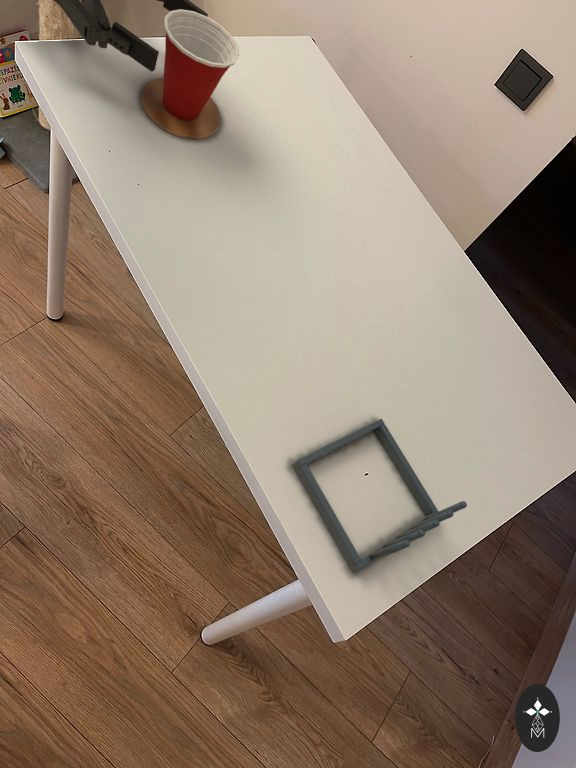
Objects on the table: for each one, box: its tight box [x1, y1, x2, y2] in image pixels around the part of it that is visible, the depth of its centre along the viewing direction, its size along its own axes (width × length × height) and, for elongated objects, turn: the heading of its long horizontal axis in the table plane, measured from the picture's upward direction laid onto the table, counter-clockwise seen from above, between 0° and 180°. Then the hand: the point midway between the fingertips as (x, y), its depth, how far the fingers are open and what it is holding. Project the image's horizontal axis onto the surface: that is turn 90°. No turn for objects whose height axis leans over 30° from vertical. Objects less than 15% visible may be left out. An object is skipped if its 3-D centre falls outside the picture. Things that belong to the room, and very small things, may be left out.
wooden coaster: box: [141, 77, 221, 140], centre depth 91 cm, size 12×12×1 cm
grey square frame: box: [291, 418, 468, 573], centre depth 70 cm, size 14×14×9 cm
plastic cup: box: [162, 9, 241, 120], centre depth 86 cm, size 11×11×12 cm
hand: (181, 42), depth 83 cm, fingers open, 13 cm apart
